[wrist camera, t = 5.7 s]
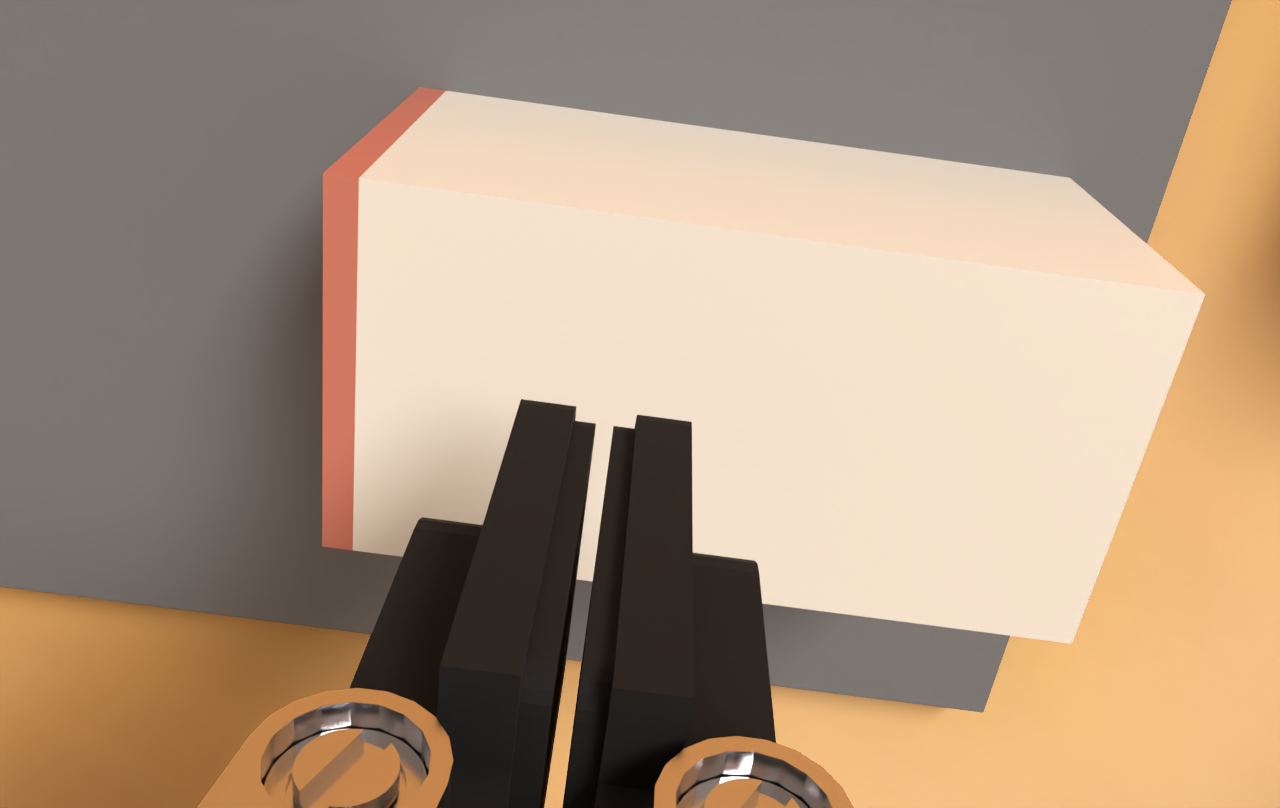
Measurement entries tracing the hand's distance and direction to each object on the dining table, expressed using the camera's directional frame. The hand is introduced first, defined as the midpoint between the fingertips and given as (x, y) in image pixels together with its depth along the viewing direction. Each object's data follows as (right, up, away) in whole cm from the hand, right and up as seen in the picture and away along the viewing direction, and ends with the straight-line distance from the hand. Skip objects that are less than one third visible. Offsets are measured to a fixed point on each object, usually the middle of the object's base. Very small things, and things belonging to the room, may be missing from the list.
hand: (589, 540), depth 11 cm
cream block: (-3, +3, +5) cm, 6 cm away
